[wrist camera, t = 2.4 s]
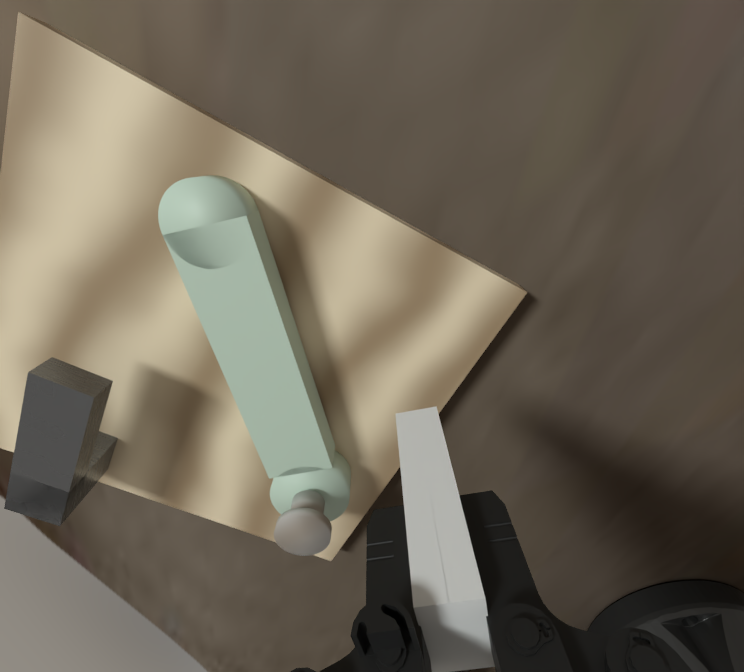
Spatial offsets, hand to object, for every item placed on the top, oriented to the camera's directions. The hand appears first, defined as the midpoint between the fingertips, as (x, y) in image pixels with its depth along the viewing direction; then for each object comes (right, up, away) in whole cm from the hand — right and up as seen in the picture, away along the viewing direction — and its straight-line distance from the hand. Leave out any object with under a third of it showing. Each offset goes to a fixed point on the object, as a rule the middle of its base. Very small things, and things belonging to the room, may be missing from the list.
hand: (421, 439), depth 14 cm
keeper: (-19, -1, +10) cm, 21 cm away
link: (-8, +2, +8) cm, 11 cm away
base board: (-11, +2, +10) cm, 15 cm away
